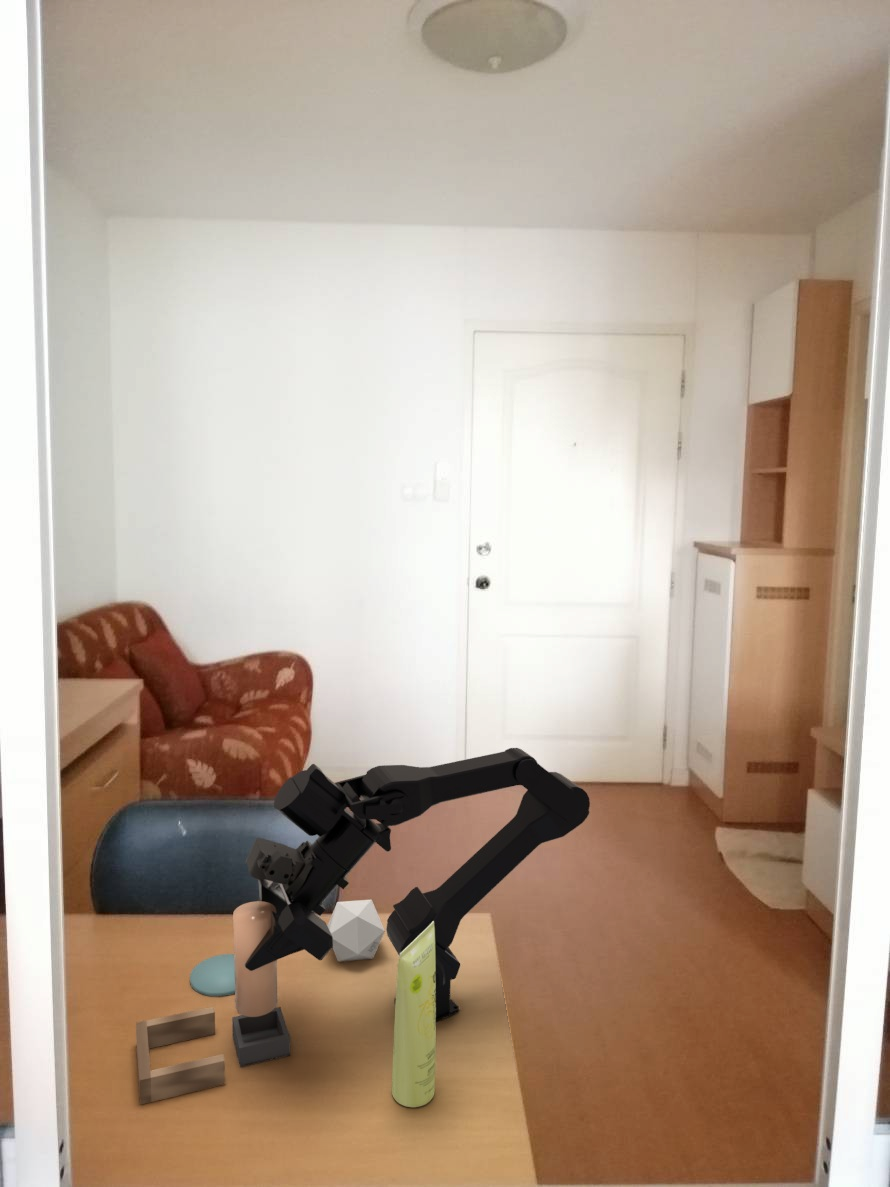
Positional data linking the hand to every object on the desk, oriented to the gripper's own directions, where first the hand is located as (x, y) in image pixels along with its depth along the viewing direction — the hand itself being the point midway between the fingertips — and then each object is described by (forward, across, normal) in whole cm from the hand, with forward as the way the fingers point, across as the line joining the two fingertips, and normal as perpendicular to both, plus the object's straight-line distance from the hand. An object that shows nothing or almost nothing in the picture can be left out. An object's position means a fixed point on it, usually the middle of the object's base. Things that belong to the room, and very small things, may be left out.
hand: (244, 956), depth 100 cm
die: (-4, -15, +22) cm, 27 cm away
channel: (+14, 0, +4) cm, 14 cm away
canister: (+4, 0, +6) cm, 7 cm away
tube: (-3, +14, +21) cm, 25 cm away
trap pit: (+7, 0, +10) cm, 12 cm away
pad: (+9, -16, +8) cm, 20 cm away
